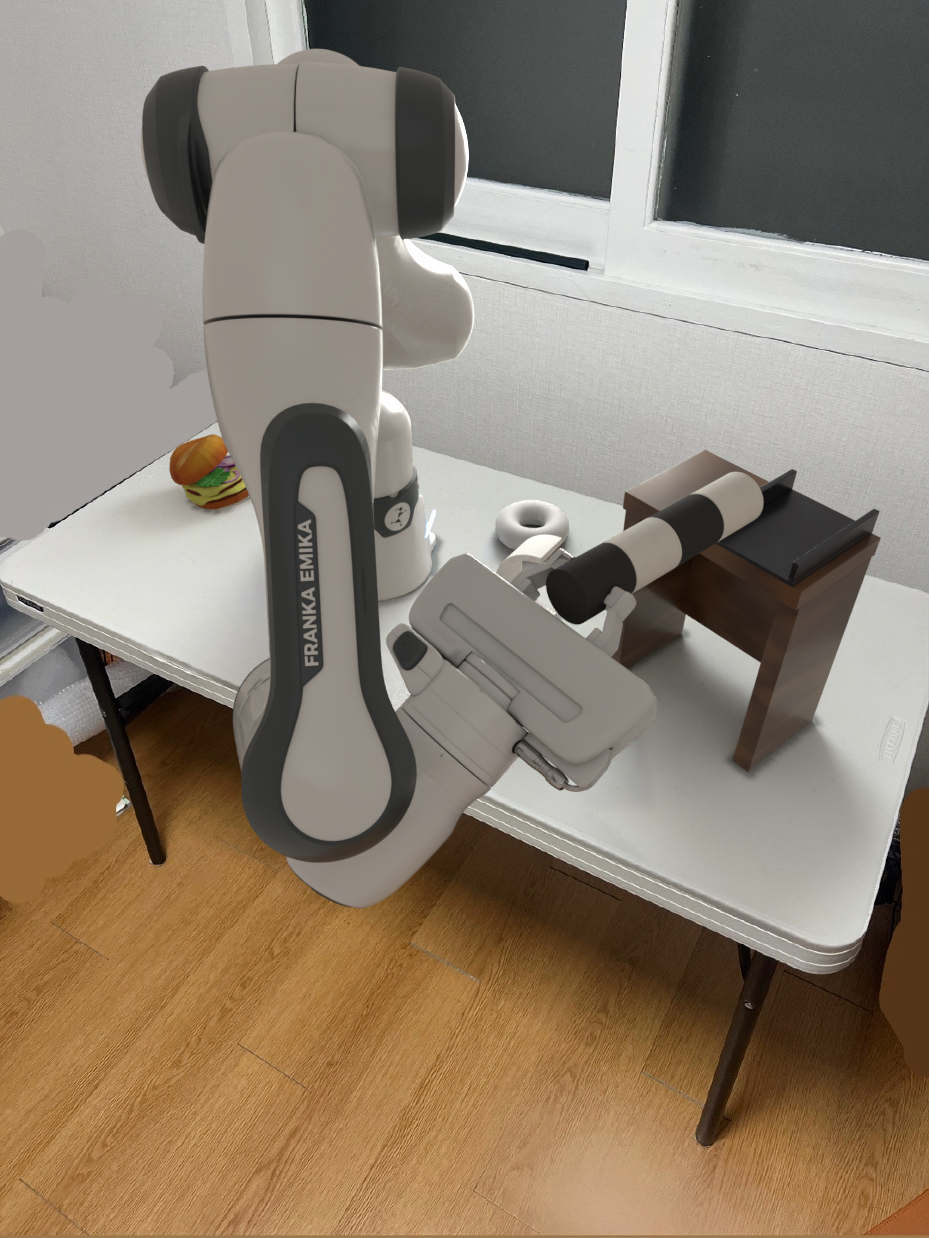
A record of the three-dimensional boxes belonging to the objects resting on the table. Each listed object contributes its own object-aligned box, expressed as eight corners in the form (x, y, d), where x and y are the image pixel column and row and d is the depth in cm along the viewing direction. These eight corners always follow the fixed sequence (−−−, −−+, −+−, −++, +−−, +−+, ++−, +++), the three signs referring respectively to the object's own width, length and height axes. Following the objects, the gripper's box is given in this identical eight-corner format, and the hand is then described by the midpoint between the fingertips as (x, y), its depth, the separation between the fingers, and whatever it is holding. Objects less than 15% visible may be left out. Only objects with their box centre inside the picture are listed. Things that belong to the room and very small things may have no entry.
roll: (586, 635, 64) (590, 588, 61) (544, 605, 67) (546, 559, 64) (757, 530, 74) (769, 485, 71) (715, 507, 76) (724, 463, 73)
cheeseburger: (252, 513, 126) (222, 454, 119) (184, 528, 128) (150, 471, 121) (265, 473, 133) (237, 416, 127) (200, 488, 135) (169, 432, 129)
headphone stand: (536, 638, 106) (540, 558, 98) (494, 619, 108) (495, 540, 101) (556, 617, 109) (562, 537, 101) (515, 599, 111) (517, 520, 103)
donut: (489, 555, 118) (564, 562, 117) (488, 534, 116) (565, 541, 114) (501, 512, 126) (572, 518, 124) (501, 492, 123) (573, 498, 122)
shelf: (602, 668, 102) (624, 491, 86) (672, 623, 108) (705, 449, 92) (745, 774, 90) (801, 592, 74) (815, 718, 96) (881, 537, 80)
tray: (705, 537, 80) (710, 515, 79) (786, 489, 86) (792, 468, 84) (792, 587, 75) (798, 565, 73) (872, 533, 80) (880, 511, 79)
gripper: (559, 793, 56) (702, 628, 57) (372, 625, 68) (493, 492, 69) (588, 818, 61) (718, 667, 62) (409, 658, 73) (521, 534, 74)
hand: (598, 574), depth 65 cm, fingers closed on roll, 4 cm apart
